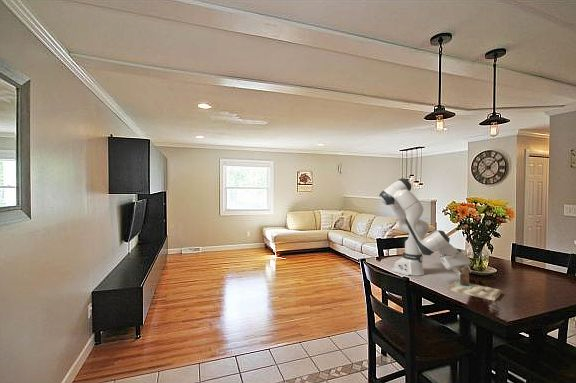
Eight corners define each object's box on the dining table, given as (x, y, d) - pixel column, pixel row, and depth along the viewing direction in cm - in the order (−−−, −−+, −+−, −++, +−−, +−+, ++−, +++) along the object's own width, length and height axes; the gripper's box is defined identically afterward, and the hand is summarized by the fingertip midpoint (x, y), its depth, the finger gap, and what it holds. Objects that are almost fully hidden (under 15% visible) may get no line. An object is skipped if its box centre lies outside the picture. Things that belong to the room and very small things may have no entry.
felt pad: (454, 285, 165) (454, 284, 165) (459, 282, 171) (459, 281, 171) (470, 289, 159) (470, 288, 159) (474, 285, 165) (474, 284, 165)
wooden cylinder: (459, 284, 165) (459, 268, 165) (461, 283, 168) (461, 266, 168) (467, 286, 162) (467, 269, 162) (470, 284, 165) (469, 268, 165)
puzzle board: (449, 290, 165) (449, 285, 165) (457, 284, 174) (457, 280, 174) (494, 300, 148) (494, 296, 148) (500, 294, 158) (500, 289, 158)
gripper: (441, 252, 166) (458, 273, 158) (462, 249, 176) (479, 268, 167) (435, 258, 170) (450, 278, 162) (455, 254, 180) (471, 273, 171)
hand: (465, 273), depth 164 cm, fingers open, 8 cm apart
